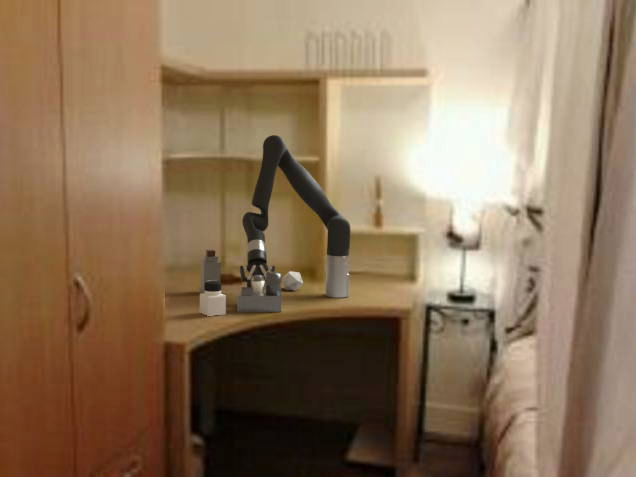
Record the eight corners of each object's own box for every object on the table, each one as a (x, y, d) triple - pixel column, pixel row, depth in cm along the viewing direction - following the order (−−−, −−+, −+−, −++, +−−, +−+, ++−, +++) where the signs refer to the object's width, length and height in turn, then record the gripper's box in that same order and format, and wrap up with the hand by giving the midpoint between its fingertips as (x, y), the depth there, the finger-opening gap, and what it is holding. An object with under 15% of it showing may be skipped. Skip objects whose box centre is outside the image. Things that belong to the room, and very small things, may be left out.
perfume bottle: (200, 292, 271) (200, 249, 269) (216, 291, 274) (216, 249, 272) (203, 295, 265) (204, 251, 263) (220, 294, 267) (220, 251, 265)
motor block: (277, 304, 253) (278, 268, 251) (281, 311, 240) (282, 274, 238) (236, 304, 250) (236, 268, 249) (237, 312, 238) (238, 274, 236)
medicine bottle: (226, 314, 233) (226, 281, 232) (207, 317, 229) (208, 283, 228) (217, 310, 239) (217, 278, 238) (199, 312, 235) (199, 280, 234)
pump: (263, 304, 252) (264, 274, 250) (264, 307, 247) (265, 276, 245) (250, 305, 251) (250, 274, 249) (251, 308, 246) (251, 276, 244)
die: (287, 294, 276) (301, 276, 275) (274, 281, 280) (288, 264, 280) (296, 297, 283) (310, 280, 282) (283, 285, 287) (297, 268, 287)
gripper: (238, 248, 252) (239, 284, 242) (275, 248, 255) (278, 284, 244) (238, 259, 258) (238, 295, 248) (274, 259, 260) (276, 295, 250)
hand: (258, 289), depth 246 cm, fingers open, 5 cm apart
